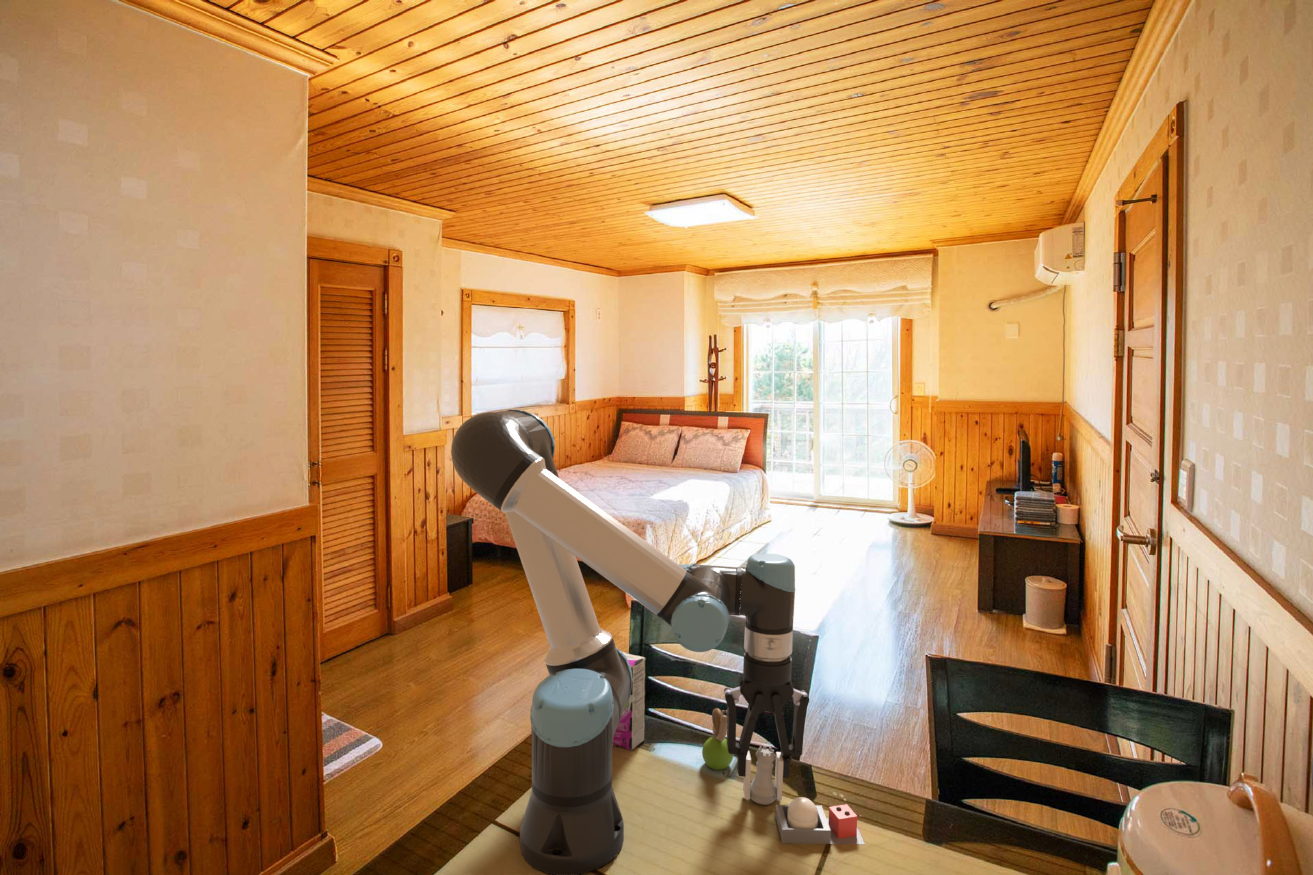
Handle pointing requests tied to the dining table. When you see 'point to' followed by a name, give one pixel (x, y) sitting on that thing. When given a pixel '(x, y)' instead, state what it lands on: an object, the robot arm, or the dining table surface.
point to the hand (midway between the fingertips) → (762, 794)
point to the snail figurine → (717, 743)
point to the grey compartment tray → (822, 827)
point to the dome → (802, 814)
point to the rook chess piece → (763, 778)
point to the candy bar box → (633, 708)
